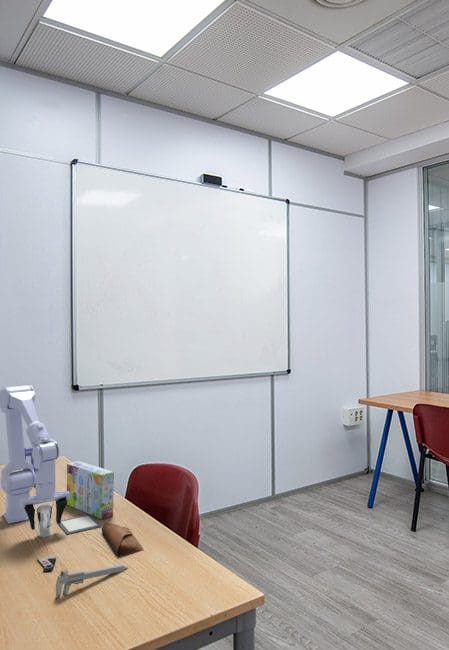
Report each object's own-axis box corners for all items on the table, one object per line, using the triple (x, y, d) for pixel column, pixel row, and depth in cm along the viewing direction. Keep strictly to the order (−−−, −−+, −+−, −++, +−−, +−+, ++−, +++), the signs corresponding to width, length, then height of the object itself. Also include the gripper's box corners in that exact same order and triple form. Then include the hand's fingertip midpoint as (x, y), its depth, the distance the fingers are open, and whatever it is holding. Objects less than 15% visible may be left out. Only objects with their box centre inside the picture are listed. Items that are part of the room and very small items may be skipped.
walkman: (23, 477, 211) (23, 448, 211) (24, 475, 214) (24, 447, 214) (42, 476, 213) (42, 447, 213) (43, 474, 216) (43, 446, 216)
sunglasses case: (146, 550, 145) (135, 532, 143) (126, 567, 142) (114, 550, 141) (127, 527, 161) (117, 511, 159) (108, 542, 158) (98, 526, 156)
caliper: (57, 600, 120) (57, 573, 120) (55, 598, 121) (55, 572, 121) (128, 569, 135) (128, 545, 135) (126, 567, 136) (126, 544, 136)
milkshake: (49, 539, 152) (49, 506, 152) (33, 537, 154) (33, 504, 153) (57, 532, 157) (57, 500, 157) (41, 531, 158) (41, 499, 158)
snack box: (114, 515, 171) (114, 471, 171) (101, 520, 167) (101, 475, 167) (78, 500, 185) (78, 459, 185) (65, 505, 180) (65, 463, 180)
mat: (56, 522, 164) (56, 521, 164) (89, 515, 171) (89, 514, 171) (66, 534, 155) (66, 533, 155) (101, 526, 161) (101, 525, 161)
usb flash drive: (52, 573, 133) (52, 569, 133) (31, 575, 132) (31, 571, 132) (57, 558, 141) (57, 554, 141) (37, 559, 140) (37, 556, 140)
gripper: (23, 489, 148) (23, 535, 148) (73, 481, 156) (73, 524, 156) (18, 483, 153) (18, 527, 154) (66, 475, 162) (66, 517, 162)
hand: (45, 525), depth 155 cm, fingers open, 7 cm apart
